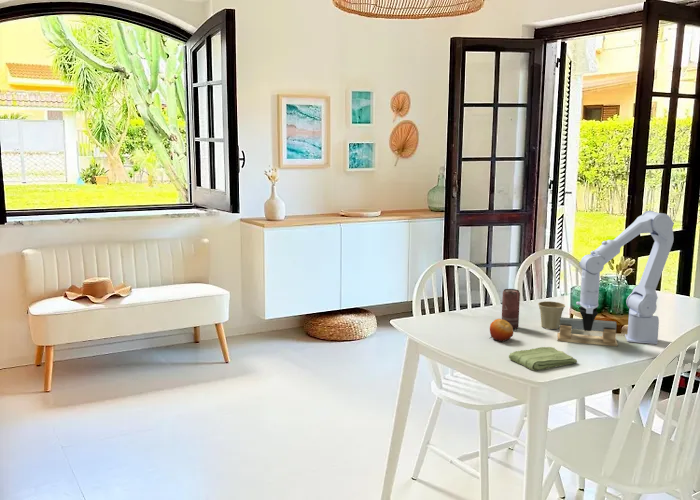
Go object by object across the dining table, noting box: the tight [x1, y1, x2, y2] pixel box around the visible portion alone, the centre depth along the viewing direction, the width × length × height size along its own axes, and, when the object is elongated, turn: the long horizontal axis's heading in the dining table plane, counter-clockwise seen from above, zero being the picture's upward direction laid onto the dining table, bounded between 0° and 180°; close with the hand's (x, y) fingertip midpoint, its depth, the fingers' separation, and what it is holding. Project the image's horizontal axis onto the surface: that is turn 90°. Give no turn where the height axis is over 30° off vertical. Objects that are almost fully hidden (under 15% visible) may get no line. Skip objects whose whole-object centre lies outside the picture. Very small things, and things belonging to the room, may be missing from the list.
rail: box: [559, 316, 617, 333], centre depth 222 cm, size 18×3×3 cm, turn 72°
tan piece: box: [556, 325, 618, 347], centre depth 222 cm, size 19×8×5 cm, turn 72°
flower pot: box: [537, 300, 566, 330], centre depth 238 cm, size 9×9×9 cm
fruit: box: [489, 318, 514, 342], centre depth 224 cm, size 8×8×8 cm
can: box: [501, 288, 521, 331], centre depth 237 cm, size 6×6×14 cm
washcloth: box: [508, 346, 578, 372], centre depth 201 cm, size 13×18×3 cm
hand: (587, 329), depth 222 cm, fingers closed on rail, 3 cm apart
